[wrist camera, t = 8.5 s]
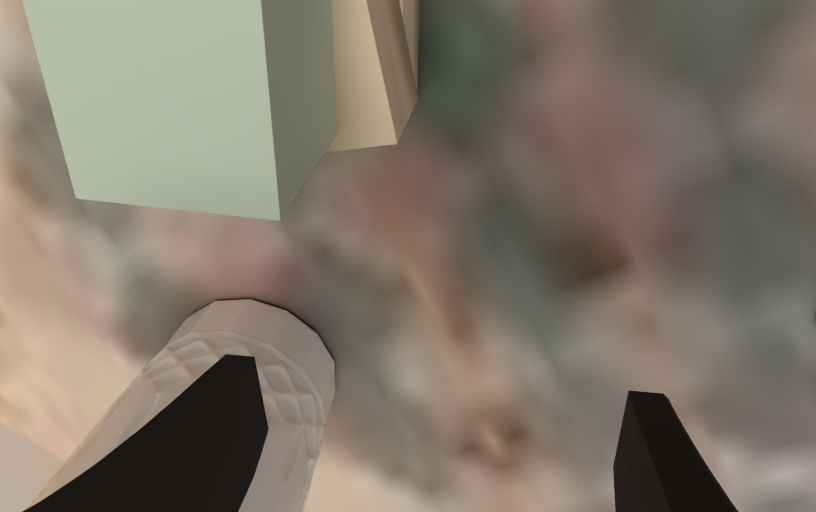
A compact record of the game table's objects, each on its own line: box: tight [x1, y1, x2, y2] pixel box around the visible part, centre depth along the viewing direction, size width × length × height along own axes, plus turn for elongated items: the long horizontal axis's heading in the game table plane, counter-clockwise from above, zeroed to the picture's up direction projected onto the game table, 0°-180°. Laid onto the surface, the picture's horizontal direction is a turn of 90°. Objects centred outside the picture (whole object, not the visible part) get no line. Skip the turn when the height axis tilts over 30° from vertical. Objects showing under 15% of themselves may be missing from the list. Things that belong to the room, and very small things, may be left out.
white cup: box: [28, 299, 336, 512], centre depth 24 cm, size 8×8×10 cm
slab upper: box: [325, 0, 418, 152], centre depth 16 cm, size 6×6×3 cm
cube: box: [22, 0, 336, 221], centre depth 13 cm, size 4×4×4 cm
